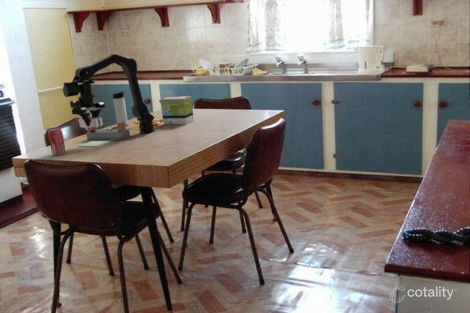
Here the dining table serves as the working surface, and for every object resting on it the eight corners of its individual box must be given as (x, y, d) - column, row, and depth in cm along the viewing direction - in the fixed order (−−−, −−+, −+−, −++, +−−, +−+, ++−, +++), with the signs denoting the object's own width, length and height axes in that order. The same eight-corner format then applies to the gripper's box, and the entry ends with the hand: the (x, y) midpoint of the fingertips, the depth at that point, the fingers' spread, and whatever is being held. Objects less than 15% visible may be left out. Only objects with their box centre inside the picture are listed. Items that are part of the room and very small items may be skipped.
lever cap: (102, 124, 258) (101, 115, 257) (96, 127, 254) (95, 117, 252) (86, 125, 262) (85, 116, 261) (80, 127, 258) (78, 118, 256)
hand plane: (130, 136, 271) (127, 121, 269) (122, 139, 264) (119, 124, 262) (95, 137, 279) (93, 122, 277) (87, 140, 273) (84, 125, 271)
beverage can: (54, 153, 248) (49, 128, 245) (67, 152, 249) (62, 127, 246) (50, 156, 242) (46, 131, 239) (64, 155, 243) (59, 129, 240)
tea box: (163, 125, 296) (159, 99, 292) (171, 121, 305) (168, 96, 301) (186, 124, 290) (183, 98, 286) (194, 120, 299) (191, 95, 295)
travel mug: (126, 126, 302) (121, 92, 297) (115, 127, 303) (110, 93, 298) (130, 124, 308) (125, 90, 303) (120, 125, 309) (115, 91, 304)
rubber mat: (110, 142, 262) (110, 140, 262) (98, 146, 253) (98, 145, 253) (91, 142, 267) (91, 141, 267) (78, 146, 258) (78, 145, 258)
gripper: (85, 91, 265) (90, 121, 269) (60, 97, 249) (66, 129, 253) (103, 90, 261) (108, 121, 265) (78, 96, 244) (84, 129, 248)
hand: (91, 125), depth 258 cm, fingers closed on lever cap, 5 cm apart
